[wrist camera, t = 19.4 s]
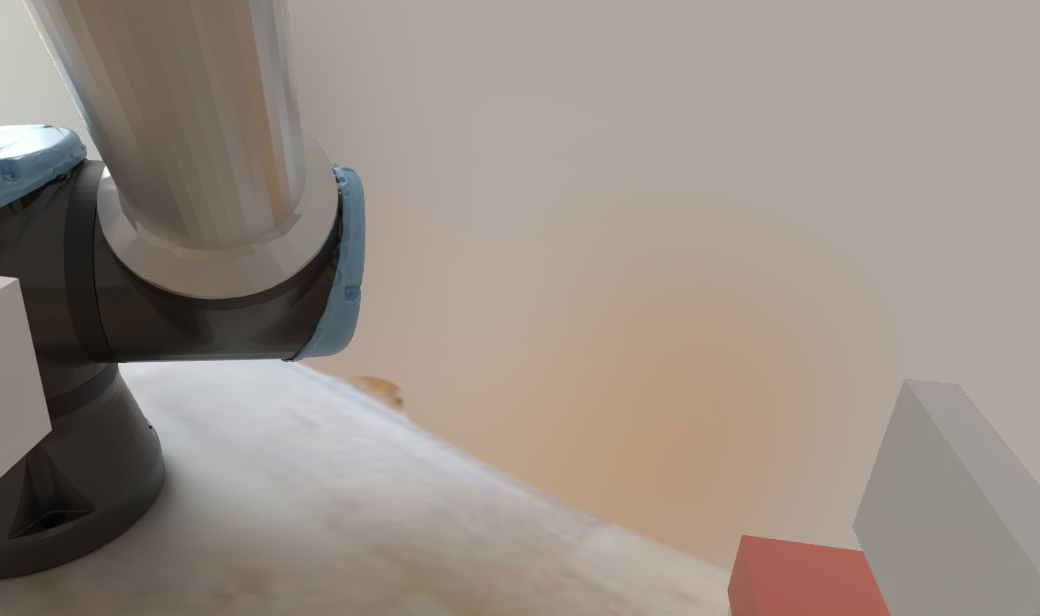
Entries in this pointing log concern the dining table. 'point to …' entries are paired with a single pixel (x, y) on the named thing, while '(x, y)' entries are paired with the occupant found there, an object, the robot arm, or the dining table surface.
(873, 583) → the block
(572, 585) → the dining table surface
